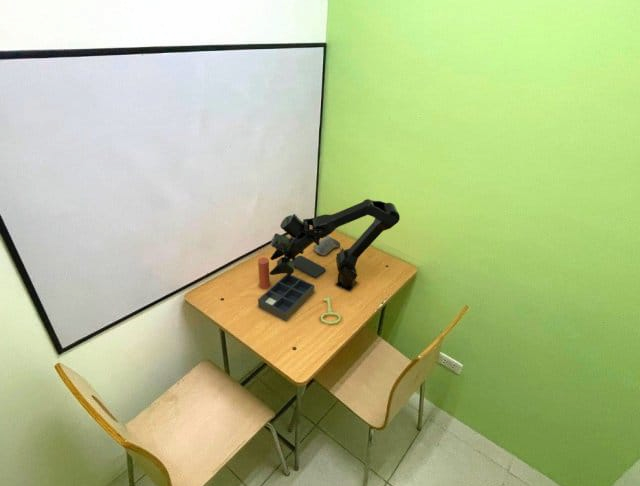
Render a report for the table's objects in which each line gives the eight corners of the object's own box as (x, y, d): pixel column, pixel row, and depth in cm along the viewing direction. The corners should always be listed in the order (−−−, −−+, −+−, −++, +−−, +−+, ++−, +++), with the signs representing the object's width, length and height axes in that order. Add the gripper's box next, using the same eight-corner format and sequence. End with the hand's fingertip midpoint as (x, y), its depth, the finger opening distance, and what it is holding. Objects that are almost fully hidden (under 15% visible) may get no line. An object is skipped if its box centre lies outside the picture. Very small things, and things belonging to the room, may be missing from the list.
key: (328, 299, 143) (329, 295, 142) (342, 322, 134) (343, 318, 133) (311, 304, 141) (311, 300, 139) (324, 327, 132) (324, 323, 131)
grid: (313, 292, 146) (314, 285, 143) (285, 321, 133) (285, 313, 131) (287, 280, 151) (287, 273, 148) (258, 307, 138) (257, 299, 135)
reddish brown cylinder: (271, 284, 148) (270, 259, 140) (265, 290, 145) (264, 265, 138) (264, 280, 150) (262, 256, 142) (257, 286, 147) (255, 261, 139)
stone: (309, 252, 171) (323, 262, 165) (306, 244, 167) (321, 253, 161) (328, 238, 175) (343, 247, 169) (326, 230, 172) (341, 238, 165)
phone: (300, 254, 163) (326, 268, 156) (300, 256, 164) (326, 270, 157) (288, 262, 159) (315, 277, 151) (288, 263, 159) (315, 278, 152)
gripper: (284, 216, 139) (256, 240, 145) (284, 244, 125) (253, 270, 131) (304, 234, 145) (276, 256, 151) (307, 263, 130) (276, 287, 136)
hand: (270, 266), depth 142 cm, fingers open, 9 cm apart
